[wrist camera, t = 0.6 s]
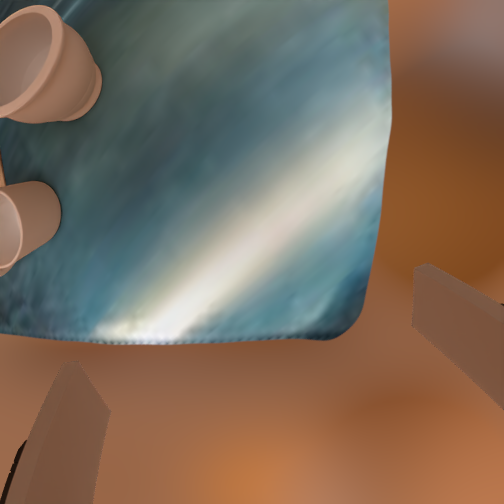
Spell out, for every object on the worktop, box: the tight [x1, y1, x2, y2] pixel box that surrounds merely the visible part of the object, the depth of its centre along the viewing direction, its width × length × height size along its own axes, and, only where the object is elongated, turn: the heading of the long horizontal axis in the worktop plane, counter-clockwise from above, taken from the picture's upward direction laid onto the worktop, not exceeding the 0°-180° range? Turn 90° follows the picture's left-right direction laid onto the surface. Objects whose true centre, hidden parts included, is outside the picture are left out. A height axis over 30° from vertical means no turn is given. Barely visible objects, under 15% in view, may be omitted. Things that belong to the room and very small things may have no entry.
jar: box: [0, 5, 102, 123], centre depth 21 cm, size 11×10×15 cm
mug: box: [0, 181, 61, 276], centre depth 27 cm, size 12×8×10 cm
